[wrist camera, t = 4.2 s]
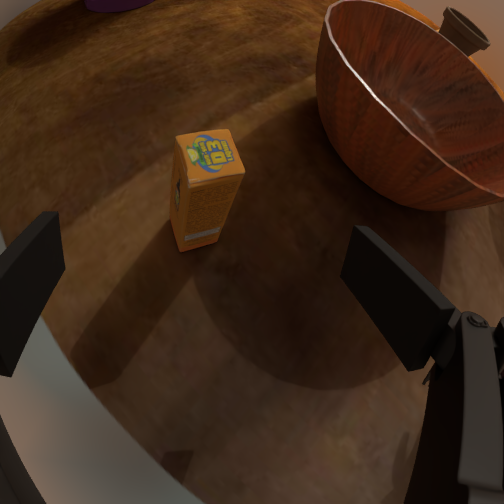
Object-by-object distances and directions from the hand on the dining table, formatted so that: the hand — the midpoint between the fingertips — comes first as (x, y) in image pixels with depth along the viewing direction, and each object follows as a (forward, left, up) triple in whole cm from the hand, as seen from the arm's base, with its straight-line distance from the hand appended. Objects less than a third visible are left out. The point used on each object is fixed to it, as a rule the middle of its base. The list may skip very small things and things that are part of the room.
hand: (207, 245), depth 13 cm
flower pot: (+66, +18, -11) cm, 70 cm away
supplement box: (+2, +4, -11) cm, 12 cm away
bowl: (+26, +4, -11) cm, 29 cm away
